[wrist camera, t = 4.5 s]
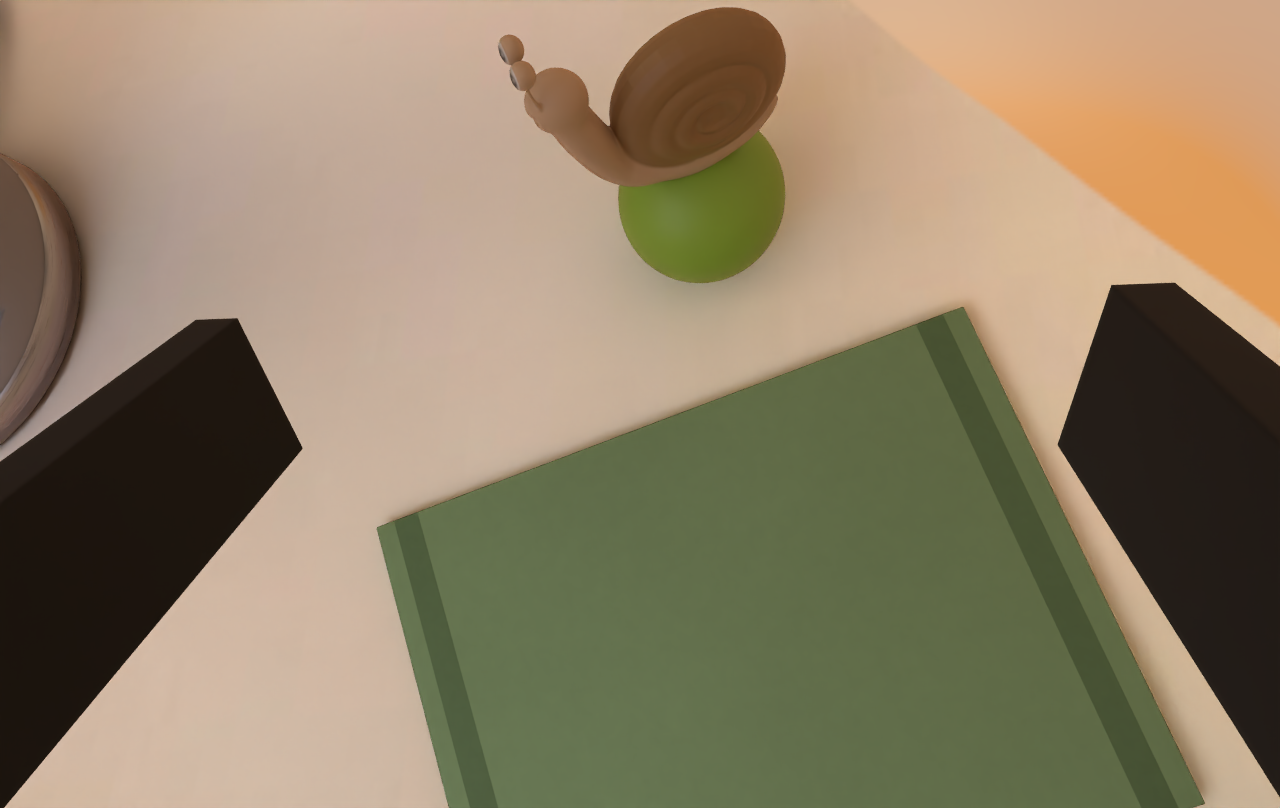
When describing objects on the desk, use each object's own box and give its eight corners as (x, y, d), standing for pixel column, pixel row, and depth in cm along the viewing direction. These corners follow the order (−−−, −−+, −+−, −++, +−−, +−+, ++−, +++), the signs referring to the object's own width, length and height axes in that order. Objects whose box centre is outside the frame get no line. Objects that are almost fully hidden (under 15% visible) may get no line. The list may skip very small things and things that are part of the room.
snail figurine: (587, 215, 25) (453, -44, 14) (741, 141, 25) (741, -193, 13) (642, 339, 24) (548, 174, 12) (805, 264, 24) (868, 18, 12)
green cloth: (381, 527, 24) (375, 527, 24) (959, 309, 23) (963, 306, 22) (506, 1007, 21) (502, 1017, 21) (1196, 798, 19) (1206, 804, 19)
